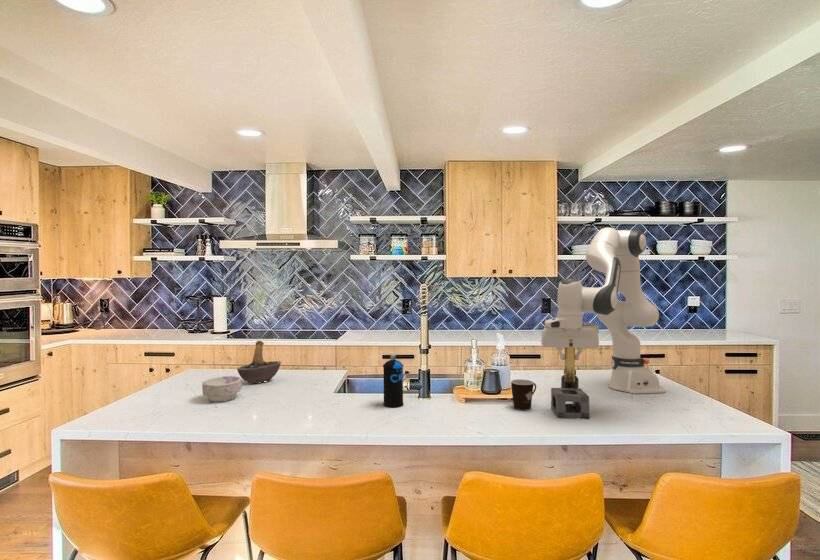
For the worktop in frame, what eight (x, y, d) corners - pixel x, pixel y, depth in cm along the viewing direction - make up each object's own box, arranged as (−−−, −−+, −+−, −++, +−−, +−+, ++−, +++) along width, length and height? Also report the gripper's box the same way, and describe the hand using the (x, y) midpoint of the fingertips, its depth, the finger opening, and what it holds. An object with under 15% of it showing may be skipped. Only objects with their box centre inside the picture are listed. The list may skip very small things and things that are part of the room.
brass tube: (573, 380, 167) (573, 337, 167) (576, 382, 164) (576, 339, 163) (563, 379, 168) (563, 337, 167) (565, 382, 164) (565, 339, 164)
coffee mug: (516, 411, 168) (516, 385, 168) (507, 404, 177) (507, 379, 177) (544, 410, 170) (544, 384, 170) (535, 403, 179) (535, 378, 179)
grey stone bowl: (194, 402, 182) (193, 383, 182) (219, 392, 197) (219, 374, 197) (225, 405, 178) (225, 385, 178) (249, 395, 193) (248, 376, 193)
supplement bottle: (579, 401, 181) (579, 371, 181) (562, 400, 183) (562, 371, 182) (576, 396, 188) (577, 368, 188) (560, 395, 190) (560, 367, 189)
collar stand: (580, 409, 171) (580, 388, 171) (589, 418, 160) (589, 396, 160) (551, 408, 172) (551, 387, 172) (557, 417, 161) (557, 395, 161)
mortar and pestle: (282, 379, 221) (282, 338, 220) (264, 387, 204) (263, 344, 204) (255, 377, 224) (255, 337, 223) (235, 386, 208) (234, 343, 207)
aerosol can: (378, 404, 178) (378, 355, 177) (393, 400, 184) (393, 352, 183) (393, 409, 172) (393, 357, 172) (407, 404, 178) (407, 354, 178)
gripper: (596, 321, 167) (596, 358, 168) (540, 321, 169) (540, 357, 170) (601, 323, 161) (601, 361, 161) (543, 323, 163) (543, 360, 164)
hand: (569, 359), depth 166 cm, fingers closed on brass tube, 4 cm apart
